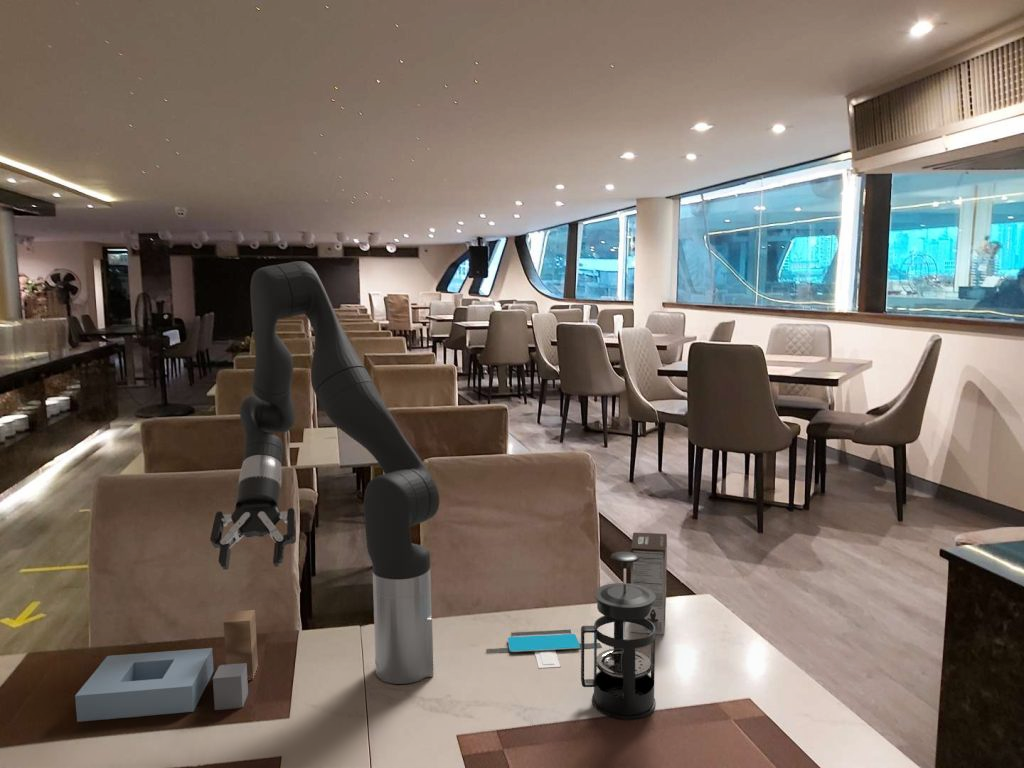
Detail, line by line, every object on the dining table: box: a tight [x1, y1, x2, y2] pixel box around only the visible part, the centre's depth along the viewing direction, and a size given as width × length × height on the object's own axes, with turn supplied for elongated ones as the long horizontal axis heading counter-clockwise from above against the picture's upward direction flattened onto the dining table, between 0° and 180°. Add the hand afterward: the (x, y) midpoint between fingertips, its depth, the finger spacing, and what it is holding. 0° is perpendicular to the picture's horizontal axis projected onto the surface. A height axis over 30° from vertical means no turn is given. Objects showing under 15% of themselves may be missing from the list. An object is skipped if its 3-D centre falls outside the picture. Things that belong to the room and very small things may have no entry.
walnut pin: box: [223, 609, 259, 680], centre depth 119 cm, size 4×4×10 cm
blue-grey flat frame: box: [74, 647, 215, 723], centre depth 113 cm, size 16×12×4 cm
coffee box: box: [629, 532, 668, 636], centre depth 136 cm, size 9×6×16 cm
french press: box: [580, 551, 657, 721], centre depth 109 cm, size 12×9×23 cm
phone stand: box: [485, 629, 602, 669], centre depth 126 cm, size 20×12×2 cm, turn 95°
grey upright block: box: [212, 663, 249, 711], centre depth 111 cm, size 4×4×5 cm
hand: (250, 566), depth 127 cm, fingers open, 8 cm apart
